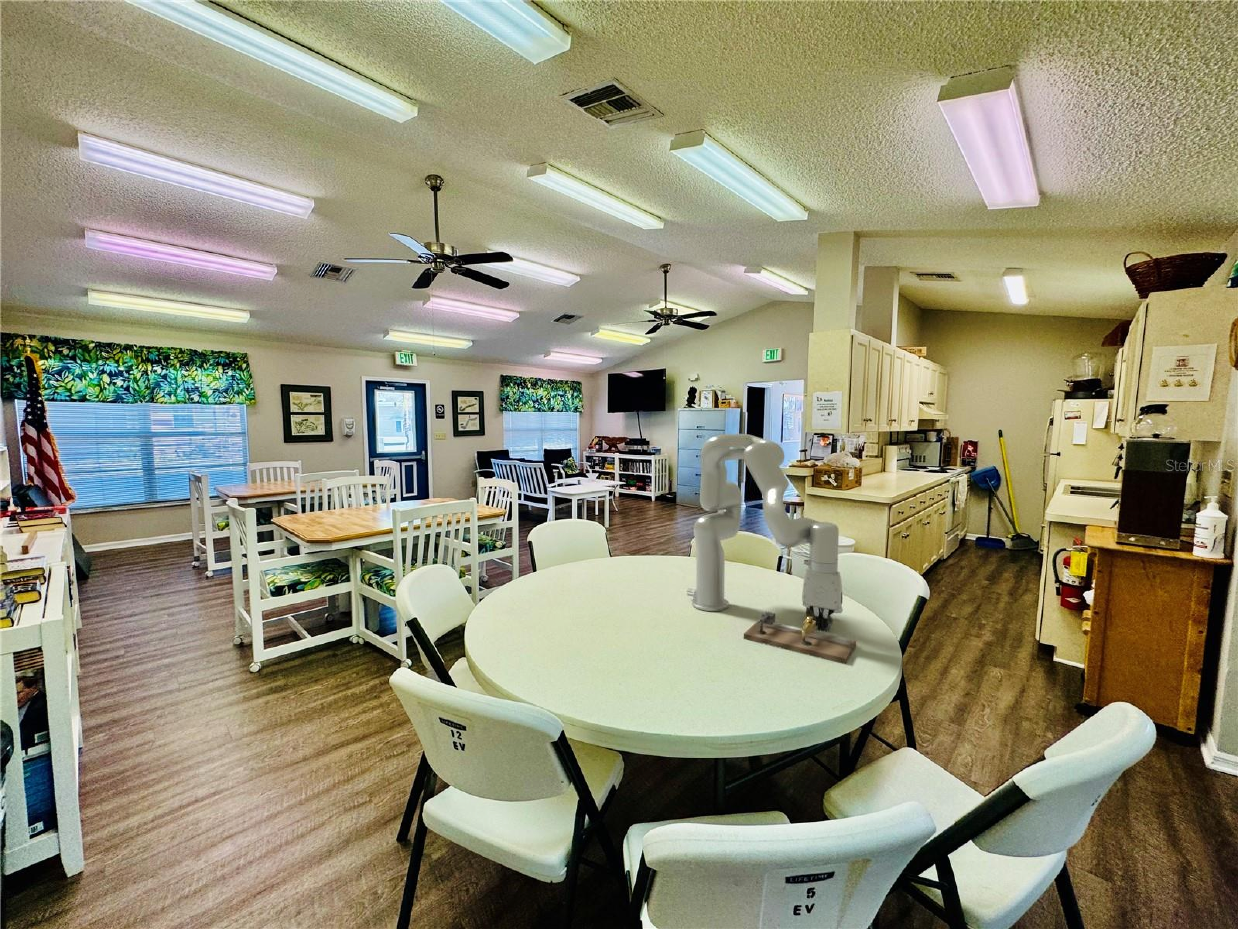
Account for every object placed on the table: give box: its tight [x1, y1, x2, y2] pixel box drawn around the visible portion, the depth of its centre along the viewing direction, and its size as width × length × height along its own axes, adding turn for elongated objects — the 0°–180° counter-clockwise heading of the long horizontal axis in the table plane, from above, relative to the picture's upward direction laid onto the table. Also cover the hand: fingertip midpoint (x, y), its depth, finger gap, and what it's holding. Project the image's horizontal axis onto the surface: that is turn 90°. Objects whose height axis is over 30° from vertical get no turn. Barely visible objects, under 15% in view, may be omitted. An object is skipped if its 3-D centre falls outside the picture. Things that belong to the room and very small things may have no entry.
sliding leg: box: [801, 616, 817, 641], centre depth 147 cm, size 3×8×5 cm, turn 145°
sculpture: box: [805, 607, 834, 632], centre depth 161 cm, size 13×6×7 cm, turn 174°
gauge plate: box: [743, 610, 857, 665], centre depth 148 cm, size 28×13×5 cm, turn 54°
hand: (821, 629), depth 147 cm, fingers closed
